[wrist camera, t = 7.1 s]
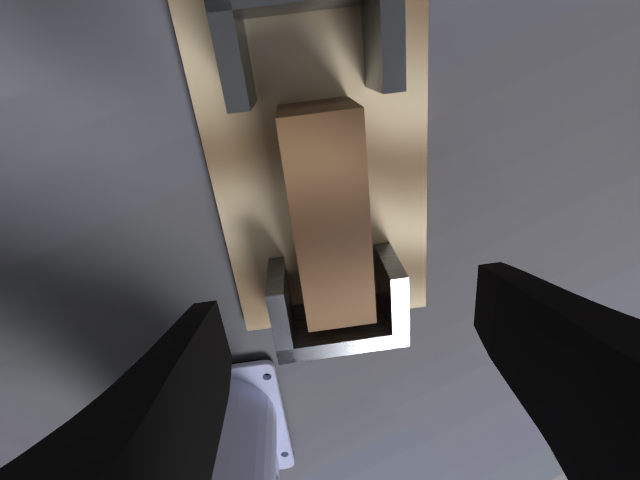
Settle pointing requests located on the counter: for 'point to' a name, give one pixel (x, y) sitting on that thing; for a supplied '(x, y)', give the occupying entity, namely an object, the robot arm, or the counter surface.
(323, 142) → the slat
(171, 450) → the robot arm
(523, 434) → the counter surface
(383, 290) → the fixed bracket
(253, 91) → the bracket
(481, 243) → the counter surface
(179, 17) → the board
